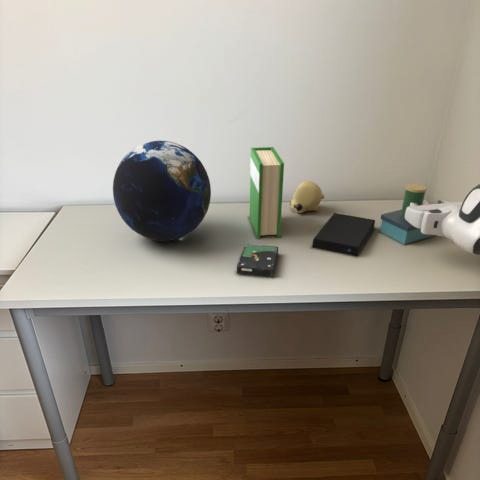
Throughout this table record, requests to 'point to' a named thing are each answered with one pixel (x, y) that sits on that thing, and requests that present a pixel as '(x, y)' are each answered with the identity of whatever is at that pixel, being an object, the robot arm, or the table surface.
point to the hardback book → (266, 191)
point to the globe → (161, 190)
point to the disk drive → (257, 260)
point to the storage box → (400, 228)
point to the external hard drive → (344, 234)
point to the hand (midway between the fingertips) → (425, 203)
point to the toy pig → (306, 197)
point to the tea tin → (413, 196)
